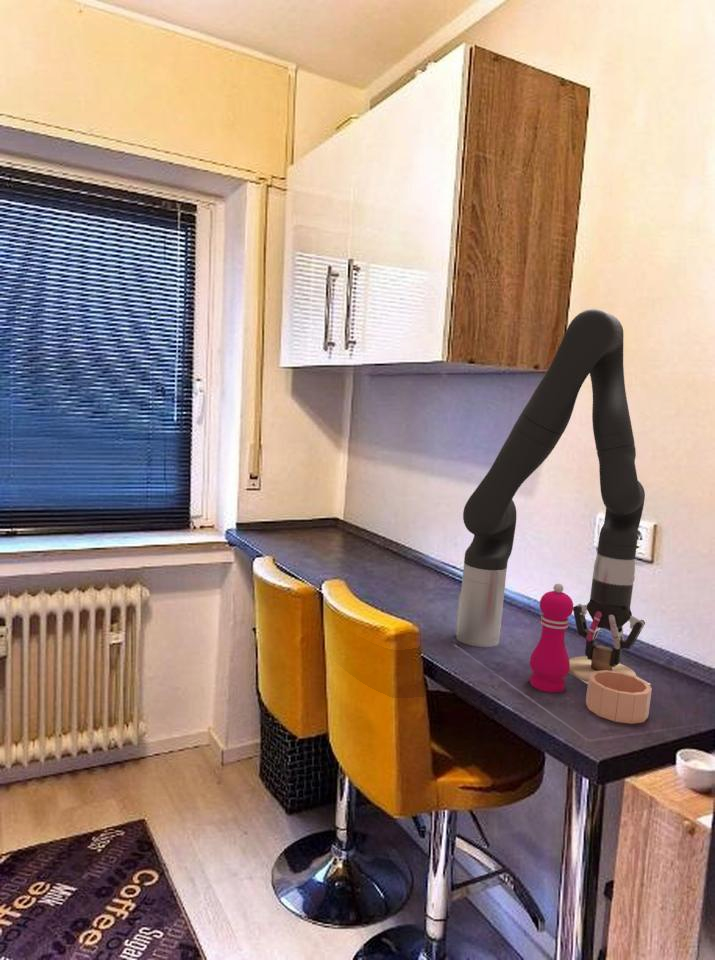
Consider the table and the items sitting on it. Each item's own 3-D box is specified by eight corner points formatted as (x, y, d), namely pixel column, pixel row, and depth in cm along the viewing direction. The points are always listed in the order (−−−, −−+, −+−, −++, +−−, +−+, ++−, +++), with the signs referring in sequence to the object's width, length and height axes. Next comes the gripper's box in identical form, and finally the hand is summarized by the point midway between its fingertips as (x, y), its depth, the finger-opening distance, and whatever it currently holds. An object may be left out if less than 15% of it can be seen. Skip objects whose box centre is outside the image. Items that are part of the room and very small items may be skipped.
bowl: (574, 702, 123) (577, 672, 122) (617, 697, 126) (621, 668, 126) (614, 728, 113) (618, 696, 113) (659, 722, 117) (664, 691, 117)
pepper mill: (573, 688, 129) (585, 585, 126) (556, 699, 123) (568, 591, 121) (538, 676, 133) (549, 576, 131) (520, 685, 128) (531, 582, 126)
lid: (553, 662, 140) (556, 639, 139) (603, 658, 145) (606, 636, 144) (597, 689, 128) (600, 664, 127) (650, 683, 133) (653, 659, 132)
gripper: (570, 573, 135) (560, 656, 137) (645, 590, 127) (633, 678, 129) (584, 567, 141) (574, 647, 143) (656, 583, 133) (644, 668, 135)
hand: (602, 661), depth 136 cm, fingers closed on lid, 4 cm apart
